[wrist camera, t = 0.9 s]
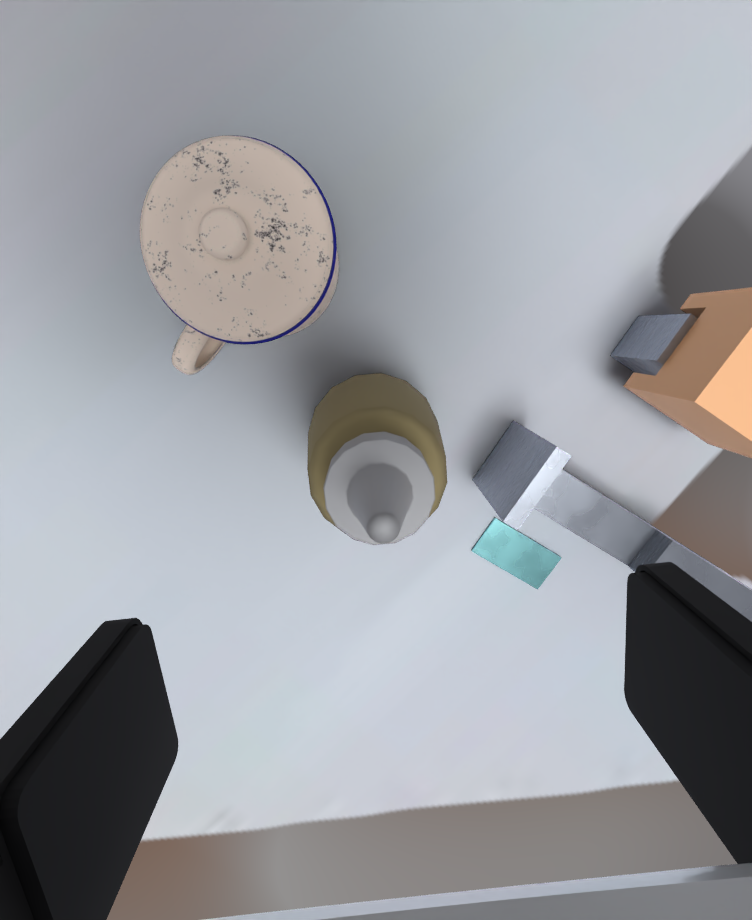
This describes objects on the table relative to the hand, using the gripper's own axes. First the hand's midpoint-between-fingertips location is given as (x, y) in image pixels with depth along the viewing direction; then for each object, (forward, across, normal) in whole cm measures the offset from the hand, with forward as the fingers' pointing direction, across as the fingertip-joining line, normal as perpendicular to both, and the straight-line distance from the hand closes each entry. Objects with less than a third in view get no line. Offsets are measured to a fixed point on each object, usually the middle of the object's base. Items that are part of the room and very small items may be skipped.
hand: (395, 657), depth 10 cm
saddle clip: (+22, -20, -2) cm, 30 cm away
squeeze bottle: (+26, 0, 0) cm, 26 cm away
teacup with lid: (+26, +6, -10) cm, 28 cm away
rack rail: (+25, -15, +11) cm, 31 cm away
